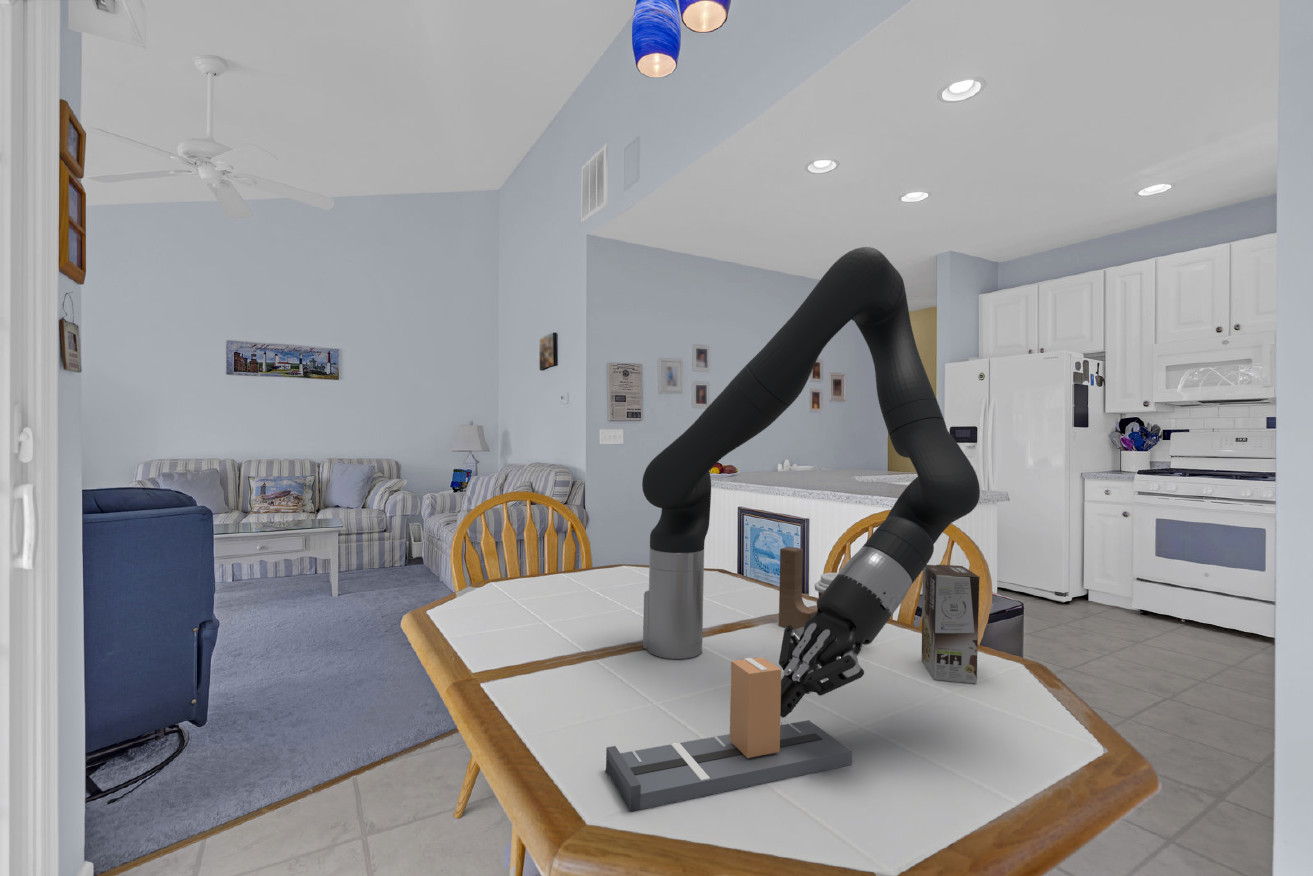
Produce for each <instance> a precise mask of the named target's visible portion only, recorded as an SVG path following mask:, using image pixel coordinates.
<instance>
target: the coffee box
mask: <svg viewBox="0 0 1313 876" xmlns="http://www.w3.org/2000/svg"><path fill="white" fill-rule="evenodd" d="M980 578H981V577H980V576H979V575H977V574H976V573H974V572H972V571H971V570H969V569H968V568H966V567H964V566H963V565H954V564H953V565H951V564H936V565H935V564H927V565H926V566H925V568H924V569H923V570H922V588H921V589H922V593H921V594H922V595H921V596H922V598H921V601H922V602H921V604H922V605H921V606H922V608H921V662H922V663H923V665H924V666H925V668H926V670H927V671H928V673H929V674H930V676H931V677H932V679H933V680H936V681H945V682H956V683H963V682H965V684H972V683H976V684H977V682H978V681H977V680H978V676H977V675H978V648H979V647H978V645H979V643H978V642H979V614H980V613H979V612H980V610H979V607H980V605H979V604H980Z"/></svg>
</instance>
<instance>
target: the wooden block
mask: <svg viewBox="0 0 1313 876" xmlns="http://www.w3.org/2000/svg"><path fill="white" fill-rule="evenodd" d="M803 553H804V548H800V547H792V546H786V547H781V548H780V549H779V594H778V595H779V600H778V601H779V602H778V605H779V606H778V626H779V627H783V628H786V627H787V626H789V625H791V626H792V627H793V628H794V629H798V628H802V627H804V626H805V623H806V622H807V621H808V620H809V619H811V618H812V617H813V616H815V615H816V614H817V610H818V609H817V610H816V609H814V608H813V609H812V608H810V607H808V606H807V605H806V604H805V603H804V600H803V570H804V569H803V566H804V565H803V563H804V562H803V561H804V559H803V557H804V556H803V555H804V554H803Z"/></svg>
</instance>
